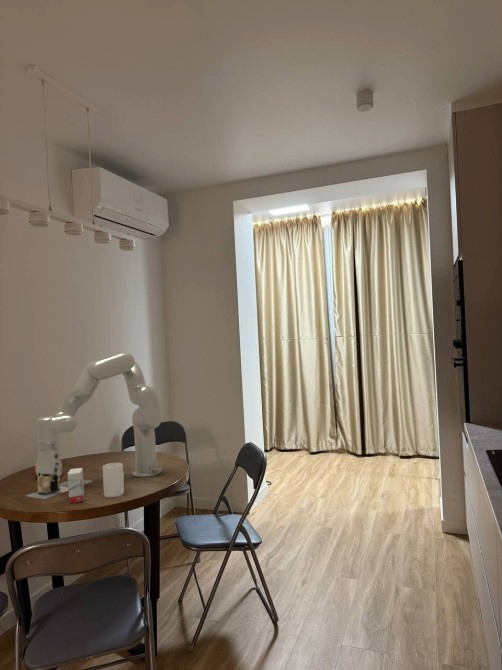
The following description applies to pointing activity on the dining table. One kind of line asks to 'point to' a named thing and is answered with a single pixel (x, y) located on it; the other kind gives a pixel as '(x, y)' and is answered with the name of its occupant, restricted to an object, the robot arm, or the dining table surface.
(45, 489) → the block
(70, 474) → the ink box
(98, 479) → the dining table surface
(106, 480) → the mug
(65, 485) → the grey board
